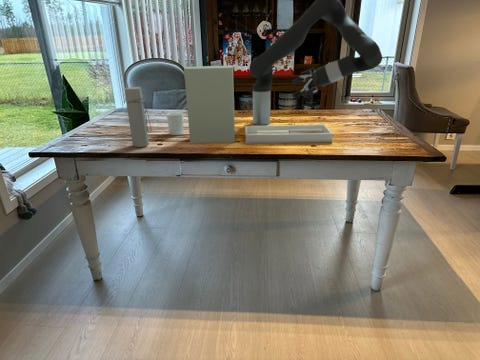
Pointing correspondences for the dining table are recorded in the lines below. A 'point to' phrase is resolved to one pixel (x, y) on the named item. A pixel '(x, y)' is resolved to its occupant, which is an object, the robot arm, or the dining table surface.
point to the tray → (287, 138)
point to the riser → (210, 104)
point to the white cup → (175, 123)
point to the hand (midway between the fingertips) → (292, 89)
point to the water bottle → (137, 116)
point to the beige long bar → (291, 131)
